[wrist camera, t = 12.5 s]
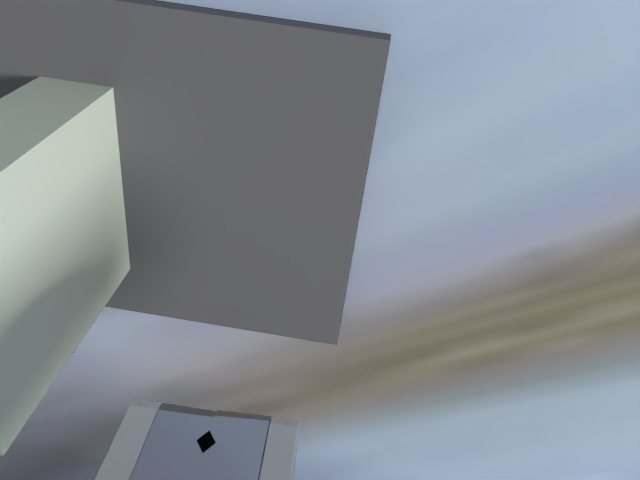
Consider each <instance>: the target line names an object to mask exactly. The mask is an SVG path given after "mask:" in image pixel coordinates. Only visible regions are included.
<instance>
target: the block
mask: <svg viewBox="0 0 640 480" xmlns="http://www.w3.org/2000/svg"><path fill="white" fill-rule="evenodd" d="M129 270H130V260H129V249H128V239H127V228H126V218H125V207H124V197H123V186H122V175H121V165H120V154H119V144H118V133H117V123H116V112H115V101H114V91H113V87H107V86H100V85H94V84H87V83H80V82H74V81H67V80H61V79H54V78H47V77H41V76H39V77H38V78H36V79H34V80H32V81H31V82H29V83H27V84H25V85H24V86H22V87H20V88H18V89H16V90H15V91H13V92H11V93H9V94H8V95H6V96H4V97H2V98H1V99H0V455H2V456H4V454H5V453H6V451H7V450H8V448H9V447H10V445H11V444H12V442H13V441H14V439H15V438H16V437H17V435H18V434H19V432H20V431H21V429H22V428H23V426H24V425H25V423H26V422H27V420H28V419H29V417H30V416H31V414H32V413H33V411H34V410H35V409H36V407H37V406H38V404H39V403H40V401H41V400H42V398H43V397H44V395H45V394H46V392H47V391H48V389H49V388H50V386H51V385H52V384H53V382H54V381H55V379H56V378H57V376H58V375H59V373H60V372H61V370H62V369H63V367H64V366H65V364H66V363H67V361H68V360H69V358H70V357H71V356H72V354H73V353H74V351H75V350H76V348H77V347H78V345H79V344H80V342H81V341H82V339H83V338H84V336H85V335H86V333H87V332H88V331H89V329H90V328H91V326H92V325H93V323H94V322H95V320H96V319H97V317H98V316H99V314H100V313H101V311H102V310H103V308H104V307H105V305H106V304H107V303H108V301H109V300H110V298H111V297H112V295H113V294H114V292H115V291H116V289H117V288H118V286H119V285H120V283H121V282H122V280H123V279H124V278H125V276H126V275H127V273H128V272H129Z"/></svg>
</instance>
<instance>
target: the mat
mask: <svg viewBox="0 0 640 480" xmlns="http://www.w3.org/2000/svg"><path fill="white" fill-rule="evenodd" d="M390 37H391V34H384V33H377V32H370V31H363V30H356V29H349V28H343V27H336V26H329V25H322V24H315V23H308V22H301V21H294V20H287V19H280V18H274V17H267V16H260V15H253V14H246V13H239V12H232V11H225V10H218V9H212V8H205V7H198V6H191V5H184V4H177V3H170V2H163V1H156V0H0V99H1V98H2V97H4V96H6V95H8V94H9V93H11V92H13V91H15V90H16V89H18V88H20V87H22V86H24V85H25V84H27V83H29V82H31V81H32V80H34V79H36V78H38V77H39V76H41V77H47V78H54V79H61V80H67V81H74V82H80V83H87V84H94V85H100V86H107V87H113V91H114V101H115V112H116V123H117V133H118V144H119V154H120V165H121V175H122V186H123V197H124V207H125V218H126V228H127V239H128V249H129V260H130V270H129V272H128V273H127V275H126V276H125V278H124V279H123V280H122V282H121V283H120V285H119V286H118V288H117V289H116V291H115V292H114V294H113V295H112V297H111V298H110V300H109V301H108V303H107V304H106V305H105V306H106V307H112V308H118V309H124V310H130V311H136V312H142V313H148V314H154V315H160V316H166V317H172V318H178V319H184V320H190V321H196V322H202V323H208V324H214V325H220V326H226V327H232V328H238V329H244V330H250V331H256V332H262V333H268V334H274V335H280V336H286V337H292V338H298V339H304V340H310V341H316V342H322V343H329V344H335V345H337V341H338V335H339V329H340V324H341V318H342V312H343V306H344V301H345V295H346V289H347V284H348V278H349V272H350V267H351V261H352V255H353V250H354V244H355V238H356V233H357V227H358V221H359V216H360V210H361V204H362V198H363V193H364V187H365V181H366V176H367V170H368V164H369V159H370V153H371V147H372V142H373V136H374V130H375V125H376V119H377V113H378V108H379V102H380V96H381V90H382V85H383V79H384V73H385V68H386V62H387V56H388V51H389V45H390Z"/></svg>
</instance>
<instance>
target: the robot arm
mask: <svg viewBox="0 0 640 480" xmlns="http://www.w3.org/2000/svg"><path fill="white" fill-rule="evenodd" d="M299 422H300V421H299V420H291V419H283V418H274V417H272V418H271V416H263V415H254V414H245V413H236V412H227V411H218V410H217V411H210V410H204V409H197V408H191V407H184V406H178V405H171V404H165V403H157V402H150V401H143V400H134V401H133V403H132V404H131V405H130V406H129V407H128V409H127V411H126V414H125V416H124V418H123V420H122V422H121V424H120V426H119V429H118V431H117V433H116V435H115V437H114V439H113V441H112V443H111V446H110V448H109V450H108V452H107V454H106V456H105V458H104V460H103V463H102V465H101V467H100V469H99V471H98V473H97V475H96V478H95V480H294V470H295V461H296V452H297V443H298V433H299Z"/></svg>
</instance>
